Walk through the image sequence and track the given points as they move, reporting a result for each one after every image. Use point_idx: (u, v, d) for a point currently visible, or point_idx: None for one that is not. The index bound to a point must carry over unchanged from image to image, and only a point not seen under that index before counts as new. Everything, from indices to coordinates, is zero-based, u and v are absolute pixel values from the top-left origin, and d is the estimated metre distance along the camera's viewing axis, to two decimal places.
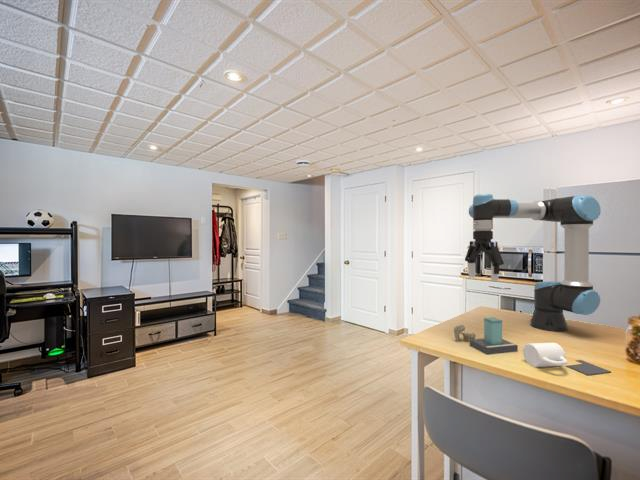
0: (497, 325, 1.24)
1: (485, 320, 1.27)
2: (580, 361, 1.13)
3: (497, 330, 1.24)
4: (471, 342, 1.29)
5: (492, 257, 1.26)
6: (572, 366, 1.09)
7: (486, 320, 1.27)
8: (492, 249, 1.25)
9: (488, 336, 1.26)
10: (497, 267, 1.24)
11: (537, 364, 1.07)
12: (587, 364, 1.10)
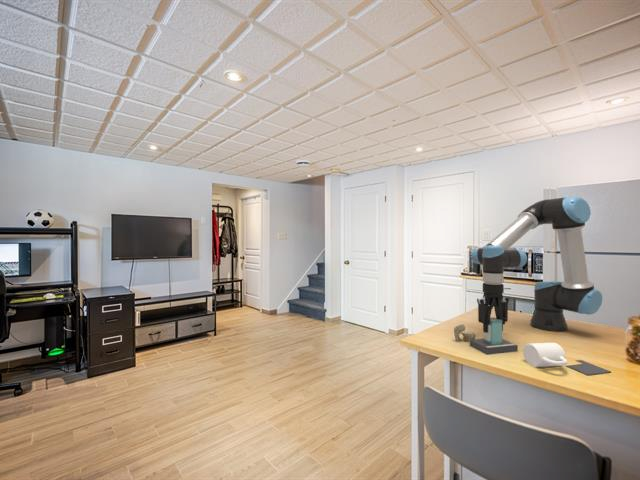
0: (497, 325, 1.24)
1: None
2: (580, 361, 1.13)
3: (497, 330, 1.24)
4: (471, 342, 1.29)
5: None
6: (572, 366, 1.09)
7: None
8: None
9: None
10: (484, 325, 1.25)
11: (537, 364, 1.07)
12: (587, 364, 1.10)
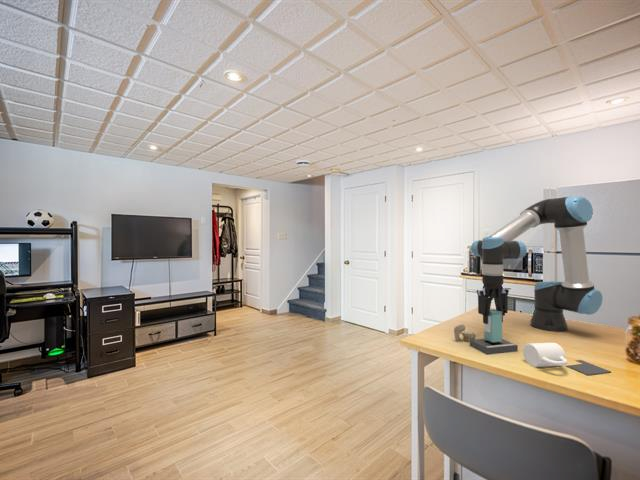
0: (497, 316, 1.24)
1: None
2: (580, 361, 1.13)
3: (497, 321, 1.24)
4: (471, 342, 1.29)
5: None
6: (572, 366, 1.09)
7: None
8: None
9: None
10: (483, 317, 1.25)
11: (537, 364, 1.07)
12: (587, 364, 1.10)
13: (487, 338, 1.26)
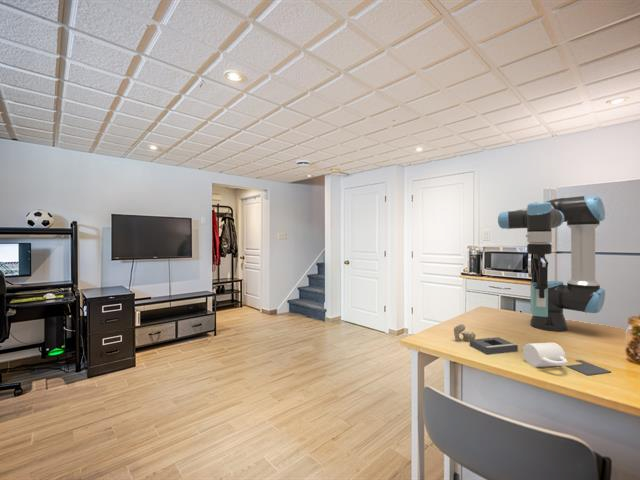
0: None
1: (535, 285, 1.15)
2: (580, 361, 1.13)
3: None
4: (471, 342, 1.29)
5: (539, 279, 1.13)
6: (572, 366, 1.09)
7: None
8: (539, 269, 1.11)
9: None
10: (541, 291, 1.12)
11: (537, 364, 1.07)
12: (587, 364, 1.10)
13: (539, 314, 1.14)
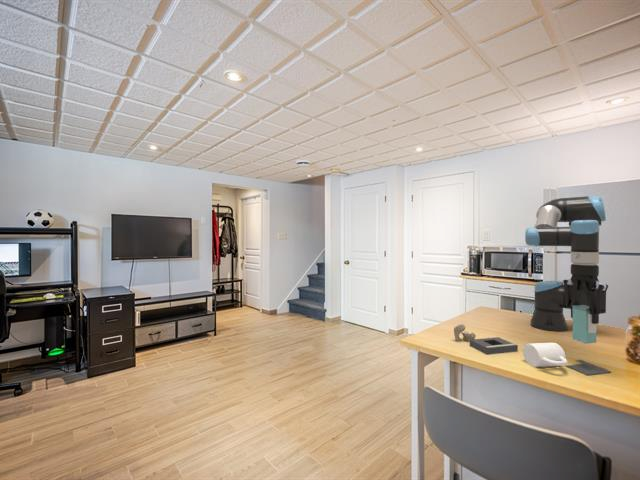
0: None
1: (587, 310, 1.05)
2: (580, 361, 1.13)
3: None
4: (471, 342, 1.29)
5: (593, 303, 1.04)
6: (572, 366, 1.09)
7: (589, 310, 1.06)
8: (598, 293, 1.02)
9: None
10: (596, 316, 1.04)
11: (537, 364, 1.07)
12: (587, 364, 1.10)
13: (589, 341, 1.06)
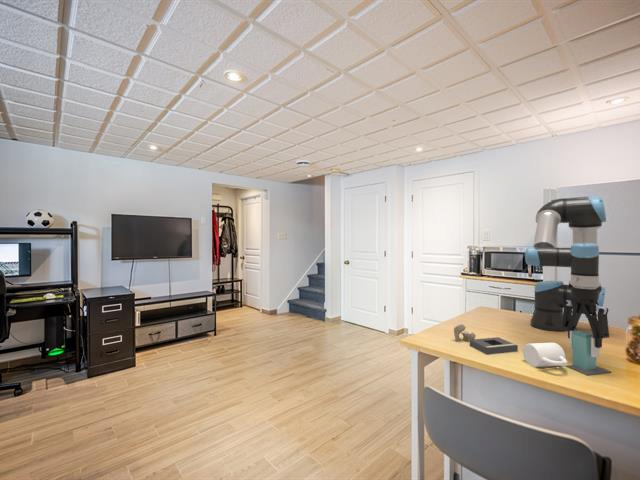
0: None
1: (587, 337, 1.06)
2: None
3: None
4: (471, 342, 1.29)
5: (595, 327, 1.04)
6: (572, 366, 1.09)
7: (588, 336, 1.06)
8: (599, 317, 1.02)
9: None
10: (600, 340, 1.03)
11: (537, 364, 1.07)
12: None
13: (589, 367, 1.06)
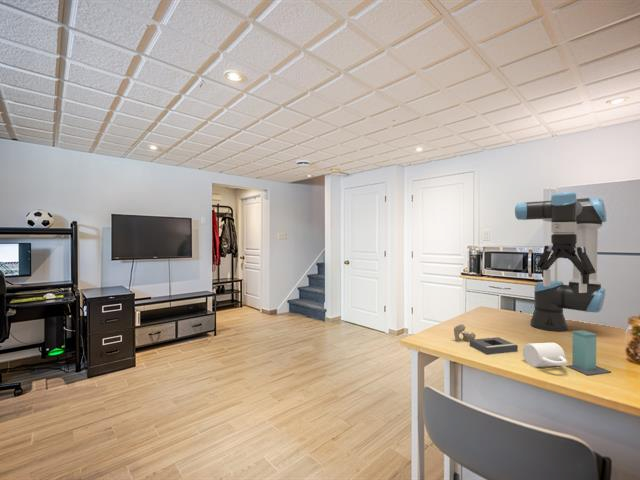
0: None
1: (587, 337, 1.06)
2: None
3: None
4: (471, 342, 1.29)
5: (579, 265, 1.11)
6: (572, 366, 1.09)
7: (588, 336, 1.06)
8: (580, 256, 1.10)
9: (591, 354, 1.06)
10: (587, 276, 1.09)
11: (537, 364, 1.07)
12: None
13: (589, 367, 1.06)
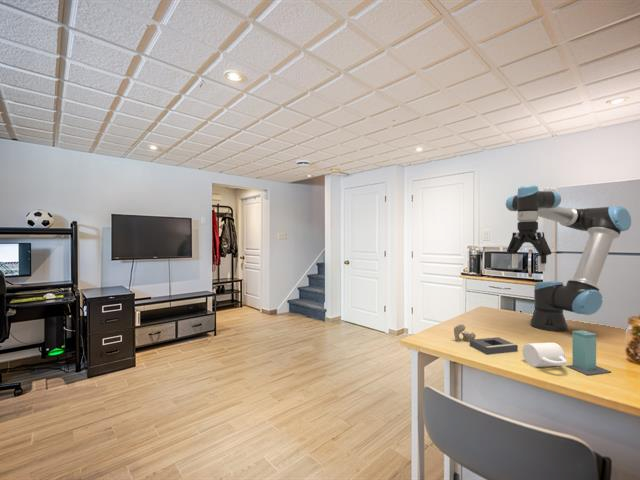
0: None
1: (587, 337, 1.06)
2: None
3: None
4: (471, 342, 1.29)
5: (539, 247, 1.29)
6: (572, 366, 1.09)
7: (588, 336, 1.06)
8: (539, 239, 1.28)
9: (591, 354, 1.06)
10: (544, 257, 1.27)
11: (536, 364, 1.07)
12: None
13: (589, 367, 1.06)
